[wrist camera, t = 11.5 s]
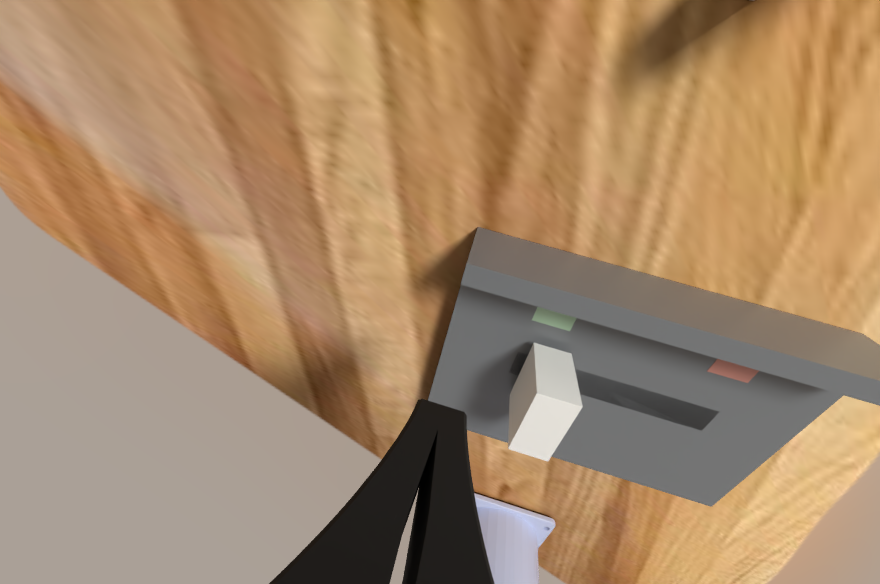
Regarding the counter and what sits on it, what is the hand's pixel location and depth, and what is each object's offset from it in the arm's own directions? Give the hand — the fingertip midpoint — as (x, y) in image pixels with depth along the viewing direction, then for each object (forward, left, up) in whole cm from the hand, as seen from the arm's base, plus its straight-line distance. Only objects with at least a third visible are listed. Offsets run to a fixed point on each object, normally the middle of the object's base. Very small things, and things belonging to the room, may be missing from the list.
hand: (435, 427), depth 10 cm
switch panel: (-4, -9, -10) cm, 14 cm away
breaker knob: (-4, -5, -8) cm, 11 cm away
